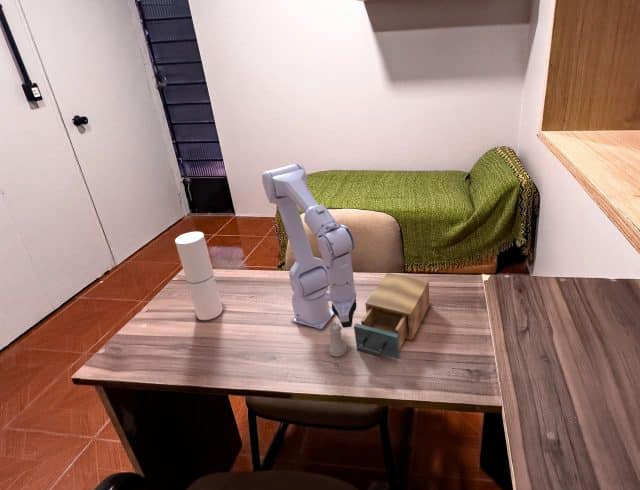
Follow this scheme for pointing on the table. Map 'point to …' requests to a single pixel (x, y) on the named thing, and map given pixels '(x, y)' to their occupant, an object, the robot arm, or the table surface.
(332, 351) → the chess piece
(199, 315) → the cylindrical container
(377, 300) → the cabinet
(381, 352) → the drawer
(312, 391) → the table surface
